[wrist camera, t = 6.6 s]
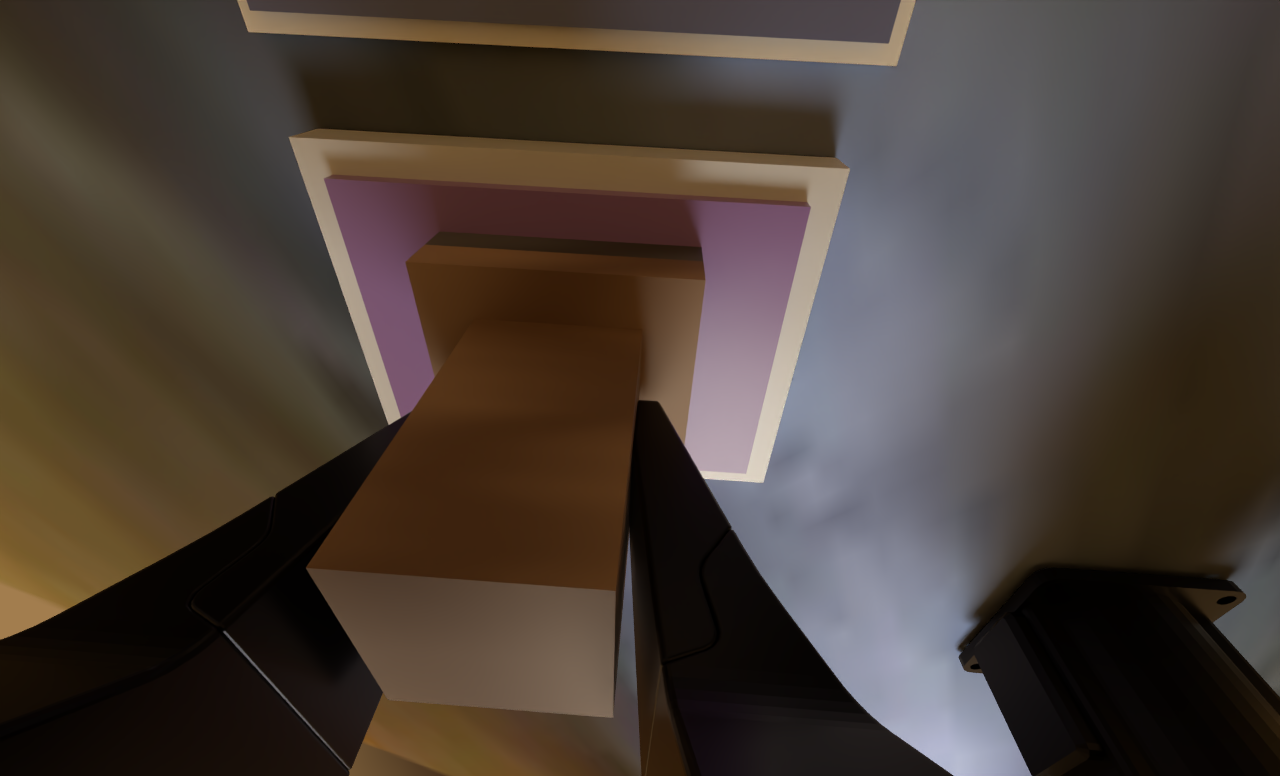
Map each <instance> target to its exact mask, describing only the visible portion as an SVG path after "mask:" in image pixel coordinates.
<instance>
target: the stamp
mask: <svg viewBox="0 0 1280 776" xmlns="http://www.w3.org/2000/svg"><path fill="white" fill-rule="evenodd" d="M405 263H406V267H407V271H408V275H409V279H410V283H411V287H412V291H413V295H414V299H415V302H416V306H417V310H418V314H419V318H420V322H421V326H422V330H423V334H424V338H425V342H426V346H427V349H428V353H429V357H430V361H431V365H432V369H433V373H434V377H435V378H434V379H433V381H432V382H431V384H430V385H429V387H428V388H427V390H426V391H425V393H424V394H423V395H422V397H421V398H420V400H419V401H418V403H417V404H416V406H415V407H414V409H413V410H412V412H411V413H410V415H409V416H408V418H407V419H406V421H405V422H404V424H403V425H402V426H401V428H400V429H399V431H398V432H397V434H396V435H395V437H394V438H393V440H392V441H391V443H390V444H389V446H388V447H387V449H386V450H385V452H384V453H383V455H382V456H381V458H380V459H379V460H378V462H377V463H376V465H375V466H374V468H373V469H372V471H371V472H370V474H369V475H368V477H367V478H366V480H365V481H364V483H363V484H362V486H361V487H360V489H359V490H358V492H357V493H356V494H355V496H354V497H353V499H352V500H351V502H350V503H349V505H348V506H347V508H346V509H345V511H344V512H343V514H342V515H341V517H340V518H339V520H338V521H337V523H336V524H335V526H334V527H333V528H332V530H331V531H330V533H329V534H328V536H327V537H326V539H325V540H324V542H323V543H322V545H321V546H320V548H319V549H318V551H317V552H316V554H315V555H314V557H313V558H312V559H311V561H310V562H309V564H308V565H307V567H306V569H307V571H308V572H309V574H310V576H311V577H312V579H313V580H314V582H315V584H316V585H317V587H318V588H319V590H320V592H321V593H322V595H323V597H324V598H325V600H326V601H327V603H328V605H329V606H330V608H331V609H332V611H333V613H334V614H335V616H336V617H337V619H338V621H339V622H340V624H341V625H342V627H343V629H344V630H345V632H346V633H347V635H348V637H349V638H350V640H351V641H352V643H353V645H354V646H355V648H356V649H357V651H358V653H359V654H360V656H361V657H362V659H363V661H364V662H365V664H366V665H367V667H368V669H369V670H370V672H371V673H372V675H373V677H374V678H375V680H376V681H377V683H378V685H379V686H380V688H381V690H382V691H383V693H384V694H385V696H386V698H387V699H388V700H395V701H408V702H421V703H433V704H446V705H459V706H471V707H484V708H497V709H509V710H522V711H535V712H547V713H560V714H573V715H585V716H598V717H611V718H613V713H614V701H615V690H616V678H617V667H618V655H619V644H620V633H621V621H622V610H623V598H624V587H625V575H626V564H627V552H628V541H629V519H630V496H631V473H632V450H633V440H634V430H635V421H636V412H637V403H638V400H651V401H658V402H659V403H660V404H661V406H662V407H663V409H664V411H665V413H666V414H667V416H668V418H669V420H670V421H671V423H672V425H673V426H674V428H675V430H676V432H677V433H678V435H679V437H680V439H681V440H682V442H683V444H684V445H685V437H686V429H687V422H688V414H689V406H690V398H691V390H692V383H693V375H694V367H695V359H696V352H697V344H698V336H699V328H700V321H701V313H702V305H703V297H704V290H705V282H706V279H705V271H704V263H703V255H702V247H692V246H675V245H658V244H642V243H625V242H608V241H591V240H574V239H558V238H541V237H524V236H507V235H491V234H474V233H457V232H438V233H437V234H436V235H435V236H434V237H433V238H432V239H430V240H429V241H428V242H427V243H426V244H425V245H424V246H423V247H421V248H420V249H419V250H418V251H417V252H416V253H415V254H414V255H412V256H411V257H410V258H409V259H408V260H407V261H406V262H405Z"/></svg>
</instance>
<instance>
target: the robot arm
mask: <svg viewBox="0 0 1280 776" xmlns="http://www.w3.org/2000/svg"><path fill="white" fill-rule="evenodd" d="M411 412H412V411H411ZM411 412H409V413H408V414H406V415H404V416H403V417H401V418H399V419H398V420H396V421H394V422H393V423H391V424H389V425H388V426H386V427H385V428H383V429H381V430H380V431H378V432H376V433H375V434H373V435H371V436H370V437H368V438H366V439H365V440H363V441H362V442H360V443H358V444H357V445H355V446H353V447H352V448H350V449H348V450H347V451H345V452H344V453H342V454H340V455H339V456H337V457H335V458H334V459H332V460H330V461H329V462H327V463H325V464H324V465H322V466H321V467H319V468H317V469H316V470H314V471H312V472H311V473H309V474H307V475H306V476H304V477H302V478H301V479H299V480H298V481H296V482H294V483H293V484H291V485H289V486H288V487H286V488H284V489H283V490H281V491H279V492H278V493H277V494H276V495H275V497H269V498H268V499H266V500H264V501H263V502H261V503H260V504H258V505H256V506H255V507H253V508H251V509H250V510H248V511H246V512H245V513H243V514H241V515H240V516H238V517H236V518H234V519H233V520H231V521H229V522H228V523H226V524H224V525H223V526H221V527H219V528H217V529H216V530H214V531H212V532H211V533H209V534H207V535H205V536H203V537H202V538H200V539H198V540H196V541H194V542H192V543H191V544H189V545H187V546H185V547H183V548H181V549H180V550H178V551H176V552H174V553H172V554H171V555H169V556H167V557H165V558H163V559H161V560H159V561H157V562H156V563H154V564H152V565H150V566H148V567H146V568H144V569H142V570H141V571H139V572H137V573H135V574H133V575H131V576H129V577H127V578H125V579H124V580H122V581H120V582H118V583H116V584H114V585H112V586H110V587H109V588H107V589H105V590H103V591H101V592H99V593H97V594H95V595H93V596H92V597H90V598H88V599H86V600H84V601H82V602H80V603H78V604H77V605H75V606H73V607H71V608H69V609H67V610H65V611H63V612H62V613H60V614H58V615H56V616H54V617H52V618H50V619H48V620H46V621H44V622H42V623H40V624H38V625H36V626H34V627H31V628H29V629H27V630H24V631H22V632H19V633H17V634H15V635H12V636H10V637H7V638H4V639H1V640H0V776H349V771H348V770H350V769H351V768H352V766H353V763H354V761H355V758H356V756H357V753H358V751H359V749H360V746H361V744H362V742H363V739H364V737H365V734H366V732H367V730H368V727H369V725H370V722H371V720H372V718H373V715H374V713H375V710H376V708H377V706H378V703H379V701H380V698H381V696H382V693H383V691H382V690H381V688H380V686H379V685H378V683H377V681H376V680H375V678H374V677H373V675H372V673H371V672H370V670H369V669H368V667H367V665H366V664H365V662H364V661H363V659H362V657H361V656H360V654H359V653H358V651H357V649H356V648H355V646H354V645H353V643H352V641H351V640H350V638H349V637H348V635H347V633H346V632H345V630H344V629H343V627H342V625H341V624H340V622H339V621H338V619H337V617H336V616H335V614H334V613H333V611H332V609H331V608H330V606H329V605H328V603H327V601H326V600H325V598H324V597H323V595H322V593H321V592H320V590H319V588H318V587H317V585H316V584H315V582H314V580H313V579H312V577H311V576H310V574H309V572H308V571H307V569H306V567H307V565H308V564H309V562H310V561H311V559H312V558H313V557H314V555H315V554H316V552H317V551H318V549H319V548H320V546H321V545H322V543H323V542H324V540H325V539H326V537H327V536H328V534H329V533H330V531H331V530H332V528H333V527H334V526H335V524H336V523H337V521H338V520H339V518H340V517H341V515H342V514H343V512H344V511H345V509H346V508H347V506H348V505H349V503H350V502H351V500H352V499H353V497H354V496H355V494H356V493H357V492H358V490H359V489H360V487H361V486H362V484H363V483H364V481H365V480H366V478H367V477H368V475H369V474H370V472H371V471H372V469H373V468H374V466H375V465H376V463H377V462H378V460H379V459H380V458H381V456H382V455H383V453H384V452H385V450H386V449H387V447H388V446H389V444H390V443H391V441H392V440H393V438H394V437H395V435H396V434H397V432H398V431H399V429H400V428H401V426H402V425H403V424H404V422H405V421H406V419H407V418H408V416H409V415H410V413H411ZM629 534H630V554H631V574H632V595H633V615H634V635H635V655H636V675H637V695H638V715H639V735H640V756H641V776H953V775H952V774H950V773H949V772H948V771H946V770H945V769H943V768H942V767H940V766H939V765H938V764H936V763H935V762H933V761H932V760H930V759H929V758H928V757H926V756H925V755H923V754H922V753H920V752H919V751H918V750H916V749H915V748H913V747H912V746H910V745H909V744H908V743H906V742H905V741H903V740H902V739H900V738H899V737H898V736H896V735H895V734H893V733H892V732H891V731H889V730H888V729H887V728H885V727H884V726H883V725H881V724H880V723H879V722H878V721H877V720H876V719H874V718H873V717H872V716H871V715H870V714H869V713H868V712H867V711H866V710H865V709H864V708H863V707H862V706H861V705H860V704H859V703H858V702H857V701H856V700H855V699H854V698H853V697H852V695H851V694H850V693H849V692H848V691H847V690H846V689H845V687H844V686H843V685H842V683H841V682H840V681H839V680H838V678H837V677H836V676H835V674H834V673H833V672H832V670H831V669H830V668H829V666H828V665H827V664H826V662H825V661H824V660H823V658H822V657H821V656H820V654H819V653H818V652H817V650H816V649H815V648H814V646H813V645H812V644H811V642H810V641H809V640H808V638H807V637H806V636H805V634H804V633H803V632H802V630H801V629H800V628H799V627H798V625H797V624H796V623H795V621H794V620H793V619H792V617H791V616H790V615H789V613H788V612H787V611H786V609H785V608H784V607H783V605H782V604H781V603H780V601H779V600H778V598H777V597H776V596H775V594H774V593H773V591H772V590H771V589H770V587H769V586H768V584H767V583H766V582H765V580H764V579H763V577H762V576H761V574H760V573H759V571H758V570H757V568H756V566H755V565H754V563H753V562H752V560H751V558H750V557H749V555H748V554H747V552H746V550H745V549H744V547H743V545H742V544H741V542H740V540H739V538H738V537H737V535H736V533H735V532H734V530H731V525H730V523H729V522H728V520H727V518H726V516H725V515H724V513H723V511H722V509H721V508H720V506H719V504H718V503H717V501H716V499H715V497H714V496H713V494H712V492H711V490H710V489H709V487H708V485H707V484H706V482H705V480H704V478H703V477H702V475H701V473H700V471H699V470H698V468H697V466H696V465H695V463H694V461H693V459H692V458H691V456H690V454H689V452H688V451H687V449H686V447H685V446H684V444H683V442H682V440H681V439H680V437H679V435H678V433H677V432H676V430H675V428H674V426H673V425H672V423H671V421H670V420H669V418H668V416H667V414H666V413H665V411H664V409H663V407H662V406H661V404H660V403H659V402H658V401H651V400H638V403H637V412H636V421H635V430H634V440H633V450H632V473H631V496H630V519H629ZM1245 598H1246V594H1245V593H1244V592H1243V591H1242V590H1241V589H1240V588H1239V587H1238V586H1237V585H1236V584H1235V583H1233V582H1232V581H1228V580H1216V579H1202V578H1188V577H1175V576H1161V575H1147V574H1133V573H1119V572H1105V571H1091V570H1077V569H1063V568H1046V569H1042V570H1039V571H1037V572H1035V573H1033V574H1032V575H1031V576H1030V577H1029V578H1028V579H1027V580H1026V581H1025V582H1024V584H1023V585H1022V586H1021V587H1020V588H1019V589H1018V590H1017V591H1016V593H1015V594H1014V595H1013V596H1012V597H1011V598H1010V599H1009V600H1008V601H1007V603H1006V604H1005V605H1004V606H1003V607H1002V608H1001V609H1000V610H999V612H998V613H997V614H996V615H995V616H994V617H993V618H992V619H991V620H990V622H989V623H988V624H987V625H986V626H985V627H984V628H983V629H982V631H981V632H980V633H979V634H978V635H977V636H976V637H975V638H974V639H973V641H972V642H971V643H970V644H969V645H968V646H967V647H966V648H965V650H964V651H963V652H962V653H961V654H960V655H959V660H960V662H961V664H962V666H963V669H964V670H965V671H967V672H973V673H983V674H984V676H985V679H986V681H987V683H988V685H989V687H990V689H991V691H992V693H993V695H994V697H995V700H996V702H997V704H998V706H999V708H1000V710H1001V712H1002V714H1003V716H1004V718H1005V721H1006V723H1007V725H1008V727H1009V729H1010V731H1011V733H1012V735H1013V737H1014V739H1015V741H1016V744H1017V746H1018V748H1019V750H1020V752H1021V754H1022V756H1023V758H1024V760H1025V762H1026V765H1027V767H1028V769H1029V771H1030V773H1031V775H1032V776H1280V697H1279V696H1278V695H1277V694H1276V693H1275V691H1274V690H1273V689H1272V688H1271V687H1270V686H1269V685H1268V684H1267V683H1266V681H1265V680H1264V679H1263V678H1262V677H1261V676H1260V675H1259V674H1258V673H1257V671H1256V670H1255V669H1254V668H1253V667H1252V666H1251V665H1250V664H1249V663H1248V661H1247V660H1246V659H1245V658H1244V657H1243V656H1242V655H1241V654H1240V653H1239V651H1238V650H1237V649H1236V648H1235V647H1234V646H1233V645H1232V644H1231V643H1230V641H1229V640H1228V639H1227V638H1226V637H1225V636H1224V635H1223V634H1222V633H1221V632H1220V630H1219V629H1218V628H1217V627H1216V626H1215V625H1214V624H1213V622H1214V621H1215V620H1217V619H1218V618H1220V617H1221V616H1223V615H1224V614H1225V613H1227V612H1228V611H1230V610H1231V609H1232V608H1234V607H1235V606H1237V605H1238V604H1240V603H1241V602H1242V601H1243V600H1244V599H1245Z"/></svg>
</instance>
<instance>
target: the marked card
mask: <svg viewBox="0 0 1280 776" xmlns="http://www.w3.org/2000/svg"><path fill="white" fill-rule="evenodd" d="M237 1H238V4H239V7H240V10H241V13H242V15H243V18H244V21H245V24H246V27H247V30H248V32H258V33H277V34H296V35H315V36H334V37H353V38H372V39H391V40H410V41H429V42H448V43H467V44H486V45H505V46H524V47H543V48H562V49H581V50H600V51H619V52H638V53H657V54H676V55H695V56H714V57H733V58H751V59H770V60H789V61H808V62H827V63H846V64H865V65H884V66H897V63H898V59H899V56H900V53H901V49H902V46H903V42H904V39H905V36H906V32H907V29H908V25H909V22H910V19H911V15H912V12H913V9H914V5H915V2H916V0H237Z"/></svg>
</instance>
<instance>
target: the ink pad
mask: <svg viewBox="0 0 1280 776" xmlns="http://www.w3.org/2000/svg"><path fill="white" fill-rule="evenodd" d="M289 139H290V142H291V145H292V148H293V151H294V154H295V156H296V159H297V162H298V165H299V168H300V171H301V174H302V177H303V180H304V182H305V185H306V188H307V191H308V194H309V197H310V200H311V203H312V205H313V208H314V211H315V214H316V217H317V220H318V223H319V226H320V228H321V231H322V234H323V237H324V240H325V243H326V246H327V249H328V251H329V254H330V257H331V260H332V263H333V266H334V269H335V272H336V275H337V277H338V280H339V283H340V286H341V289H342V292H343V295H344V298H345V300H346V303H347V306H348V309H349V312H350V315H351V318H352V321H353V323H354V326H355V329H356V332H357V335H358V338H359V341H360V344H361V346H362V349H363V352H364V355H365V358H366V361H367V364H368V367H369V370H370V372H371V375H372V378H373V381H374V384H375V387H376V390H377V393H378V395H379V398H380V401H381V404H382V407H383V410H384V413H385V416H386V418H387V421H388V424H391V423H393V422H394V421H396V420H398V419H399V418H401V417H403V416H404V415H406V414H408V413H409V412H411V411H412V410H413V409H414V407H415V406H416V404H417V403H418V401H419V400H420V398H421V397H422V395H423V394H424V393H425V391H426V390H427V388H428V387H429V385H430V384H431V382H432V381H433V379H434V378H435V377H434V373H433V369H432V365H431V361H430V357H429V353H428V349H427V346H426V342H425V338H424V334H423V330H422V326H421V322H420V318H419V314H418V310H417V306H416V302H415V299H414V295H413V291H412V287H411V283H410V279H409V275H408V271H407V267H406V263H405V262H406V261H407V260H408V259H409V258H410V257H411V256H412V255H414V254H415V253H416V252H417V251H418V250H419V249H420V248H421V247H423V246H424V245H425V244H426V243H427V242H428V241H429V240H430V239H432V238H433V237H434V236H435V235H436V234H437V233H438V232H457V233H474V234H491V235H507V236H524V237H541V238H558V239H574V240H591V241H608V242H625V243H642V244H658V245H675V246H692V247H702V255H703V263H704V271H705V279H706V282H705V290H704V297H703V305H702V313H701V321H700V328H699V336H698V344H697V352H696V359H695V367H694V375H693V383H692V390H691V398H690V406H689V414H688V422H687V429H686V437H685V445H684V446H685V447H686V449H687V451H688V452H689V454H690V456H691V458H692V459H693V461H694V463H695V465H696V466H697V468H698V470H699V471H700V473H701V475H702V477H703V478H704V479H717V480H731V481H746V482H760V483H763V481H764V478H765V474H766V471H767V467H768V463H769V460H770V456H771V453H772V449H773V445H774V442H775V438H776V434H777V431H778V427H779V424H780V420H781V416H782V413H783V409H784V406H785V402H786V398H787V395H788V391H789V388H790V384H791V380H792V377H793V373H794V370H795V366H796V362H797V359H798V355H799V351H800V348H801V344H802V341H803V337H804V333H805V330H806V326H807V323H808V319H809V315H810V312H811V308H812V305H813V301H814V297H815V294H816V290H817V287H818V283H819V279H820V276H821V272H822V268H823V265H824V261H825V258H826V254H827V250H828V247H829V243H830V240H831V236H832V232H833V229H834V225H835V222H836V218H837V214H838V211H839V207H840V204H841V200H842V196H843V193H844V189H845V185H846V182H847V178H848V175H849V171H850V169H849V168H848V167H847V166H846V165H845V164H843V163H842V162H841V161H840V160H839V159H837V158H831V157H814V156H796V155H778V154H760V153H743V152H725V151H707V150H690V149H672V148H654V147H636V146H619V145H601V144H583V143H565V142H548V141H530V140H512V139H495V138H477V137H459V136H441V135H424V134H406V133H388V132H370V131H353V130H335V129H315V130H311V131H308V132H304V133H301V134H298V135H294V136H291V137H289Z"/></svg>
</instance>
